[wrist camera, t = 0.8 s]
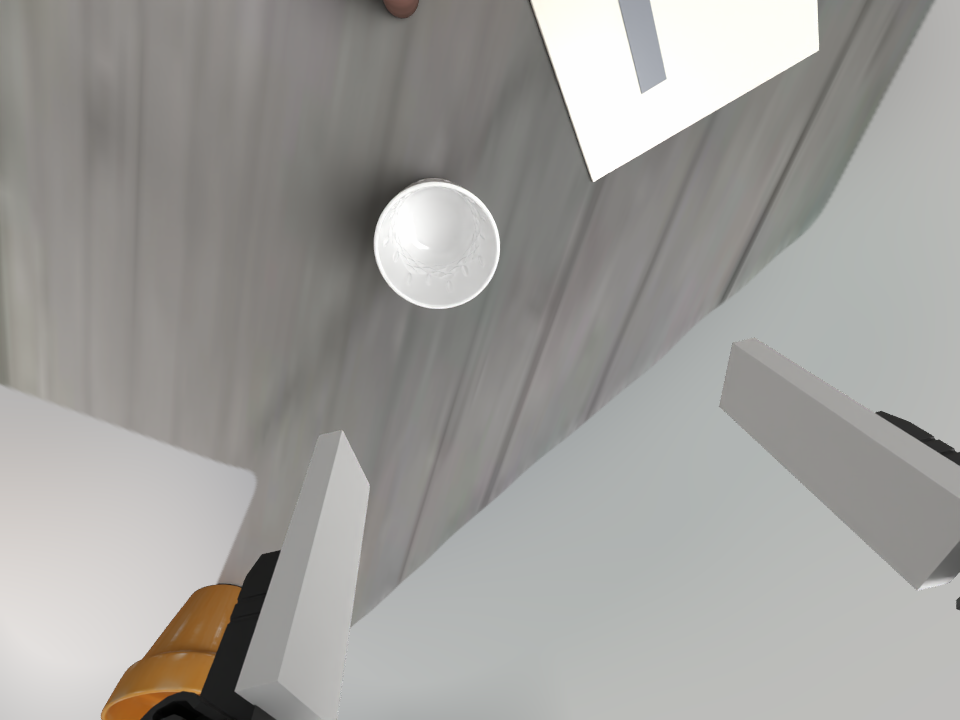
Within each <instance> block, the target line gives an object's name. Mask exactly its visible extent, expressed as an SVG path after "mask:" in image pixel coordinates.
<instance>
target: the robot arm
mask: <svg viewBox="0 0 960 720" xmlns="http://www.w3.org/2000/svg"><path fill="white" fill-rule="evenodd" d="M719 407H720V408H721V409H723V411H725V412H726V413H727V414H728V415H729V416H730V417H731V418H732V419H733V420H734V421H736V423H737V424H739V425H740V426H741V427H742V428H743V429H744V430H745V431H746V432H747V433H748V434H749V435H750V436H752V438H754V439H755V440H756V441H757V442H758V443H759V444H760V445H761V446H762V447H763V448H764V449H765V450H766V451H768V452H769V453H770V454H771V455H772V456H773V457H774V458H775V459H776V460H777V461H778V462H779V463H780V464H781V465H783V466H784V467H785V468H786V469H787V470H788V471H789V472H790V473H791V474H792V475H793V476H795V478H797V479H798V480H799V481H800V482H801V483H802V484H803V485H804V486H805V487H806V488H807V489H808V490H809V491H811V492H812V493H813V494H814V495H815V496H816V497H817V498H818V499H819V500H820V501H821V502H823V504H824V505H826V506H827V507H828V508H829V509H830V510H831V511H832V512H833V513H834V514H835V515H836V516H837V517H838V518H840V519H841V520H842V521H843V522H844V523H845V524H846V525H847V526H848V527H849V528H850V529H851V530H853V532H855V533H856V534H857V535H858V536H859V537H860V538H861V539H862V540H863V541H864V542H865V543H866V544H867V545H869V546H870V547H871V548H872V549H873V550H874V551H875V552H876V553H877V554H878V555H879V556H880V557H881V558H883V559H884V560H885V561H886V562H887V563H888V564H889V565H890V566H891V567H892V568H893V569H894V570H896V572H898V573H899V574H900V575H901V576H902V577H903V578H904V579H905V580H906V581H907V582H908V583H909V584H910V585H912V586H913V587H914V588H915V589H916V590H917V591H918V590H922V589H926V588H930V587H934V586H939V585H942V584H947V583H950V582H951V581H952V580H953V579H954V578H955V577H956V576H957V574H958V573H959V572H960V452H958V453H957V452H956V451H955V450H954V448H952V447H951V446H949V445H947V444H946V443H944V442H942V441H941V440H935V438H934V436H932V435H931V434H929V433H927V432H926V431H924V430H922V429H920V428H919V427H917V426H915V425H914V424H912V423H911V422H908V421H906V420H903V419H901V418H898V417H895V416H893V415H890V414H888V413H885V412H882V411H880V412H876V413H874V412H872V411H871V410H869V409H868V408H866V407H864V406H863V405H861V404H860V403H858V402H856V401H855V400H853V399H851V398H850V397H848V396H847V395H845V394H844V393H842V392H841V391H839V390H837V389H836V388H834V387H833V386H831V385H829V384H828V383H826V382H825V381H823V380H821V379H820V378H818V377H816V376H815V375H813V374H812V373H810V372H809V371H807V370H805V369H804V368H802V367H800V366H799V365H797V364H796V363H794V362H793V361H791V360H789V359H788V358H786V357H784V356H783V355H781V354H780V353H778V352H776V351H775V350H773V349H772V348H770V347H769V346H767V345H765V344H764V343H762V342H760V341H759V340H757V339H756V338H751V339H747V340H742V341H738V342H733V343H732V347H731V352H730V356H729V362H728V366H727V371H726V376H725V381H724V386H723V390H722V395H721V400H720V405H719ZM369 489H370V485H369V483H368V481H367V479H366V477H365V475H364V473H363V471H362V469H361V467H360V464H359V462H358V460H357V458H356V456H355V454H354V452H353V450H352V448H351V446H350V444H349V442H348V440H347V438H346V436H345V434H344V432H343V430H340V431H335V432H331V433H326V434H322V435H319V437H318V440H317V443H316V446H315V449H314V452H313V455H312V458H311V461H310V464H309V467H308V470H307V473H306V476H305V479H304V482H303V485H302V488H301V491H300V494H299V497H298V500H297V503H296V506H295V510H294V513H293V516H292V519H291V522H290V525H289V528H288V531H287V534H286V537H285V540H284V543H283V546H282V549H281V550H279V551H275V552H271V553H266V554H262V555H261V556H260V558H259V559H258V560H257V562H256V563H255V565H254V566H253V567H252V569H251V570H250V572H249V573H248V574H247V576H246V578H245V580H244V583H243V586H242V588H241V591H240V593H239V596H238V598H237V600H238V602H237V604H235V606H234V609H233V611H232V614H231V616H230V623H229V624H227V627H226V629H225V632H224V634H223V637H222V640H221V642H220V645H219V647H218V650H217V652H216V655H215V658H214V660H213V663H212V665H211V668H210V670H209V673H208V676H207V678H206V681H205V683H204V686H203V688H202V691H201V694H200V696H199V695H197V694H196V693H193V692H187V691H181V692H178V693H176V694H173V695H170V696H167V697H166V698H165V699H163V700H162V701H160V702H159V703H158V704H156V705H155V706H153V707H152V708H151V709H150V710H149V711H148V712H147V713H146V714H145V715H144V716H143V717H142V718H141V719H140V720H337V717H338V710H339V702H340V695H341V688H342V681H343V674H344V666H345V660H346V653H347V645H348V639H349V632H350V624H351V617H352V610H353V603H354V596H355V589H356V582H357V575H358V568H359V561H360V553H361V546H362V539H363V532H364V525H365V518H366V511H367V504H368V497H369ZM956 601H957V602H956V603H957V604H956V609H958V610H960V597H959V598H958V599H957V600H956Z"/></svg>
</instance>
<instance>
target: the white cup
mask: <svg viewBox="0 0 960 720" xmlns="http://www.w3.org/2000/svg"><path fill="white" fill-rule="evenodd" d="M374 253H375V258H376V262H377V265H378V268H379V270H380V272H381V274H382V276H383V278H384V279H385V281H386V282H387V283H388V285H389V286H390V287H391V288H392V289H393V290H394V291H395V292H396V293H397V294H398V295H400V296H401V297H402V298H404V299H405V300H407V301H409V302H411V303H413V304H416V305H418V306H422V307H426V308H432V309H445V308H451V307H455V306H458V305H461V304H464V303H466V302H468V301H469V300H471V299H473V298H474V297H475V296H477V295H478V294H479V293H480V292H481V291H482V290H483V289H484V288H485V287H486V286H487V284H488V283H489V282H490V280H491V278H492V277H493V275H494V272H495V270H496V267H497V264H498V260H499V254H500V240H499V234H498V230H497V226H496V224H495V221H494V219H493V217H492V215H491V213H490V212H489V210H488V209H487V207H486V206H485V205H484V204H483V203H482V202H481V201H480V200H479V199H478V198H477V197H476V196H475V195H473V194H472V193H471V192H469V191H467V190H466V189H464V188H463V187H461V186H460V185H458V184H456V183H454V182H451V181H448V180H445V179H440V178H428V179H422V180H419V181H417V182H414V183H412V184H410V185H409V186H407V187H406V188H404V189H403V190H402V191H400V192H399V193H398V194H397V195H396V196H395V197H394V198H393V199H392V200H391V201H390V202H389V203H388V204H387V206H386V207H385V209H384V210H383V212H382V213H381V215H380V217H379V220H378V222H377V225H376V229H375V234H374Z"/></svg>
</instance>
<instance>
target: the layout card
mask: <svg viewBox="0 0 960 720" xmlns="http://www.w3.org/2000/svg"><path fill="white" fill-rule="evenodd" d="M530 3H531V5H532V8H533V11H534V14H535V17H536V20H537V23H538V26H539V29H540V32H541V35H542V37H543V40H544V43H545V46H546V49H547V52H548V55H549V58H550V61H551V64H552V67H553V69H554V72H555V75H556V78H557V81H558V84H559V87H560V90H561V93H562V96H563V99H564V102H565V104H566V107H567V110H568V113H569V116H570V119H571V122H572V125H573V128H574V131H575V134H576V136H577V139H578V142H579V145H580V148H581V151H582V154H583V157H584V160H585V163H586V166H587V168H588V171H589V174H590V177H591V180H592V182H594V181H596V180H597V179H599V178H601V177H602V176H604V175H606V174H608V173H609V172H611V171H613V170H614V169H616V168H618V167H620V166H621V165H623V164H625V163H626V162H628V161H630V160H632V159H633V158H635V157H637V156H638V155H640V154H642V153H644V152H645V151H647V150H649V149H650V148H652V147H654V146H656V145H657V144H659V143H661V142H662V141H664V140H666V139H668V138H669V137H671V136H673V135H674V134H676V133H678V132H680V131H681V130H683V129H685V128H686V127H688V126H690V125H692V124H693V123H695V122H697V121H698V120H700V119H702V118H704V117H705V116H707V115H709V114H711V113H712V112H714V111H716V110H717V109H719V108H721V107H723V106H724V105H726V104H728V103H729V102H731V101H733V100H735V99H736V98H738V97H740V96H741V95H743V94H745V93H747V92H748V91H750V90H752V89H753V88H755V87H757V86H759V85H760V84H762V83H764V82H765V81H767V80H769V79H771V78H772V77H774V76H776V75H777V74H779V73H781V72H783V71H784V70H786V69H788V68H789V67H791V66H793V65H795V64H796V63H798V62H800V61H801V60H803V59H805V58H807V57H808V56H810V55H812V54H813V53H815V52H817V51H819V37H818V9H817V0H530Z"/></svg>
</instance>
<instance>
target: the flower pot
mask: <svg viewBox="0 0 960 720" xmlns="http://www.w3.org/2000/svg"><path fill="white" fill-rule="evenodd" d="M240 591H241V588H240V587H238V586H233V585H225V584H222V585H211V586H206V587H203V588H201V589H199V590H197V591H195V592H194V593H193V594H192V595H191V597H190V598H189V599H188V601H187V602H186V603H185V604H184V606H183V607H182V608H181V609H180V611H179V612H178V613H177V615H176V616H175V617H174V618H173V620H172V621H171V622H170V624H169V625H168V626H167V627H166V629H165V630H164V632H163V633H162V634H161V635H160V637H159V638H158V639H157V641H156V642H155V643H154V645H153V646H152V647H151V649H150V650H149V651H148V653H147V654H146V655H145V656H144V658H143V659H142V660H140V661H138V662H136V663H134V664H133V665H132V666H130V667H129V668H128V670H127V671H126V672H125V673H124V675H123V677H122V678H121V679H120V681H119V683H118V684H117V686H116V688H115V690H114V691H113V693H112V695H111V696H110V698H109V700H108V701H107V703H106V705H105V707H104V708H103V710H102V713H101V719H102V720H140V719H141V718H142V717H143V716H144V715H145V714H146V713H147V712H148V711H149V710H150V709H151V708H152V707H153V706H155V705H156V704H158V703H159V702H160V701H162V700H163V699H165V698H166V697H167V696H170V695H173V694H176V693H178V692H181V691H187V692H193V693H196V694H197V695H199V696H200V694H201V691H202V688H203V686H204V683H205V681H206V678H207V676H208V673H209V670H210V668H211V665H212V663H213V660H214V658H215V655H216V652H217V650H218V647H219V645H220V642H221V640H222V637H223V634H224V632H225V629H226V627H227V624H229V623H230V616H231V614H232V611H233V609H234V606H235V604H237V602H238V600H237V598H238V596H239V593H240Z"/></svg>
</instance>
